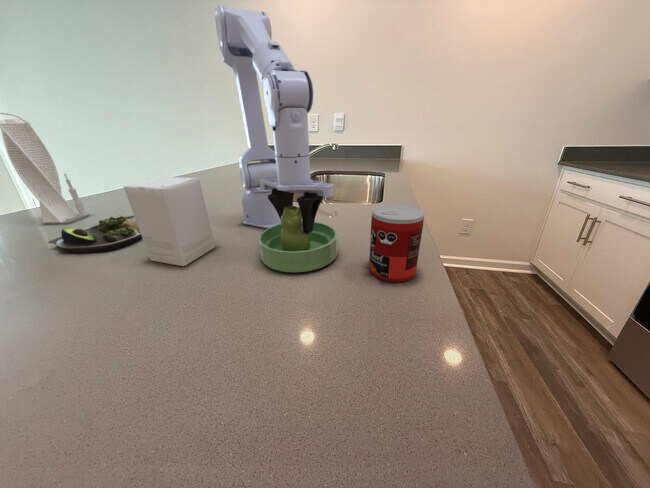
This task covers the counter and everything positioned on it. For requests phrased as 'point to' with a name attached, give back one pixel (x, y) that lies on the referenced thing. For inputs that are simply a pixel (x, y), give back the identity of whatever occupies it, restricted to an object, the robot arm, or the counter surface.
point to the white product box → (171, 218)
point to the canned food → (395, 242)
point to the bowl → (299, 261)
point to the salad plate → (99, 236)
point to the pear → (293, 230)
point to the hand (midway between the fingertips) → (298, 230)
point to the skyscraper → (39, 171)
